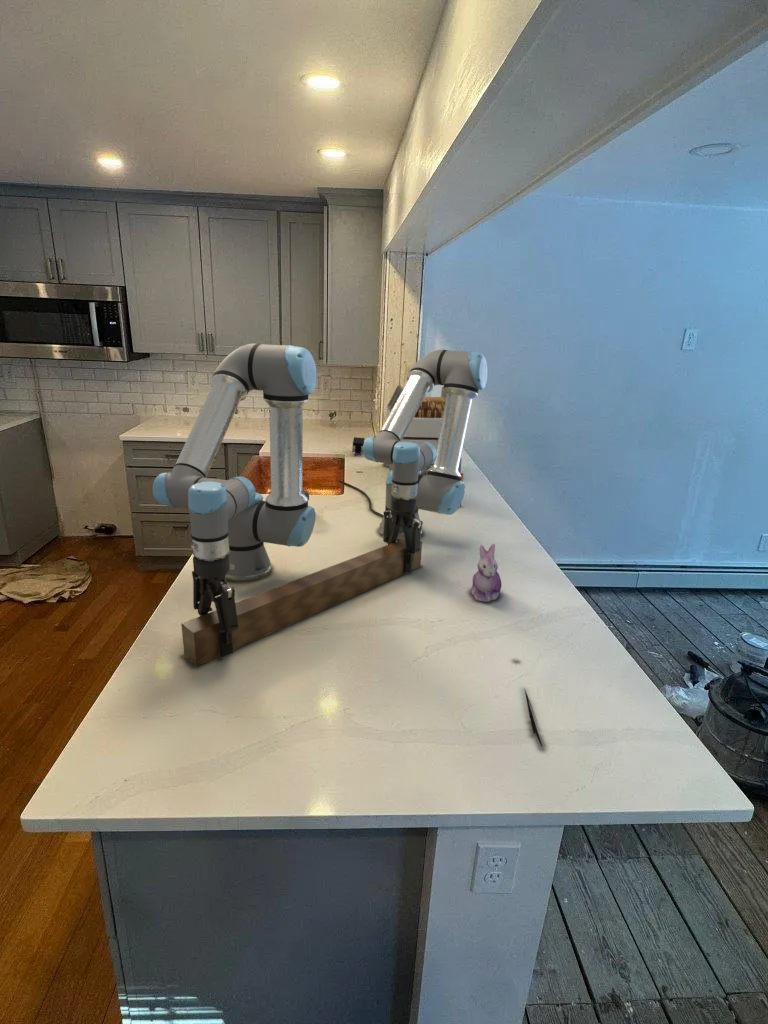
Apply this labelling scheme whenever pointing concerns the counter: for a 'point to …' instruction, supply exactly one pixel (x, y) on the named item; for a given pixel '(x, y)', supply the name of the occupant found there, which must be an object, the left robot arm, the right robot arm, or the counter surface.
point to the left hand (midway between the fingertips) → (217, 646)
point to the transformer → (423, 420)
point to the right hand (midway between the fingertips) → (399, 568)
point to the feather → (532, 718)
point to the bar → (296, 600)
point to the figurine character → (358, 445)
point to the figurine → (486, 576)
